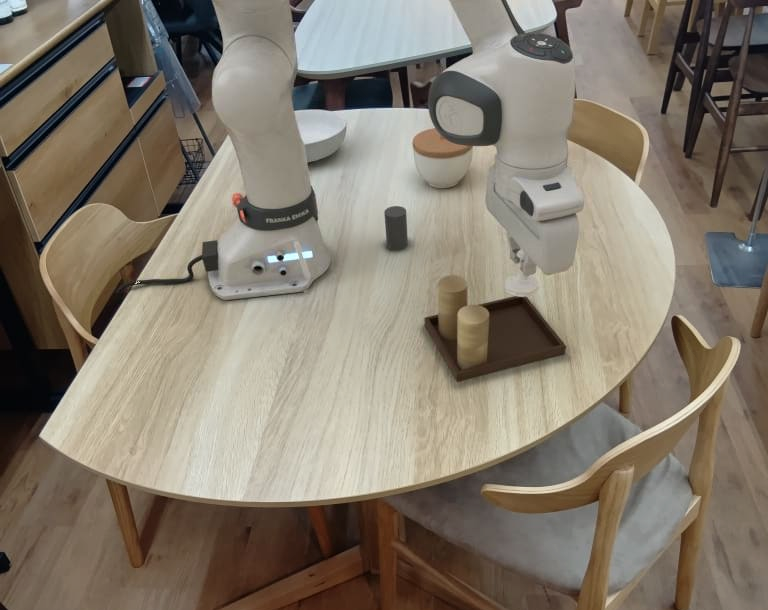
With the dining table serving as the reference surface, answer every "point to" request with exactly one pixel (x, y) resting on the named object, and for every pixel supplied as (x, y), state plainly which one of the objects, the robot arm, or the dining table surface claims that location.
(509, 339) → the tray
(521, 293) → the chess piece
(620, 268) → the dining table surface
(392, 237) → the grey piece left
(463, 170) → the lidded bowl
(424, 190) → the dining table surface
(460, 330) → the pale piece
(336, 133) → the serving bowl
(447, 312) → the pale piece
